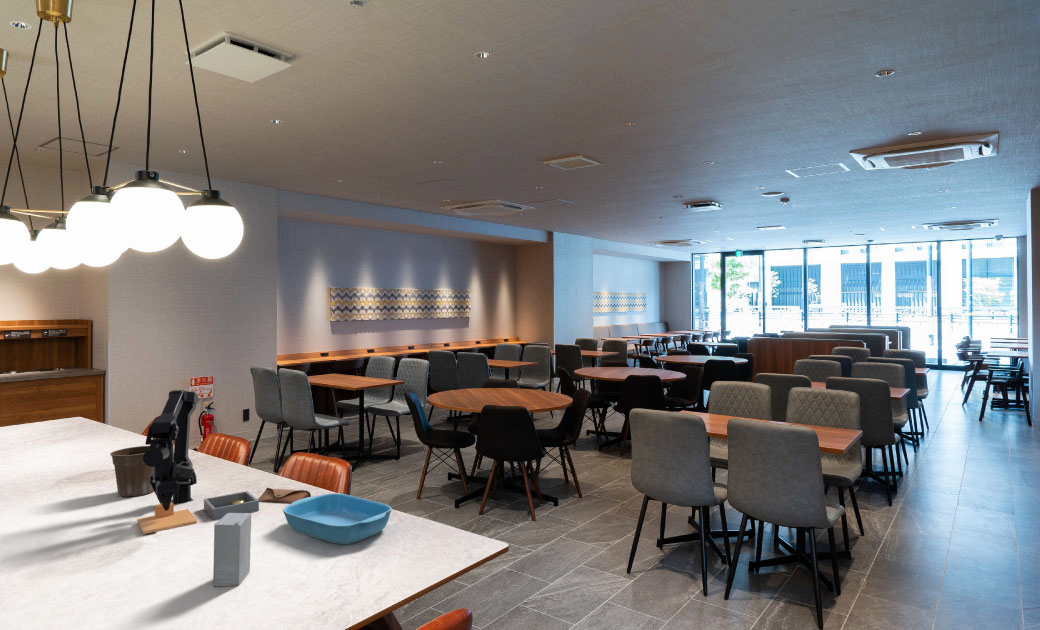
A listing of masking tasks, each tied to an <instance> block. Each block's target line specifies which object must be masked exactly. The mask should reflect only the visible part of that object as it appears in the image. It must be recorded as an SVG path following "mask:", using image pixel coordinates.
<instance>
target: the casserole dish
mask: <svg viewBox="0 0 1040 630" xmlns="http://www.w3.org/2000/svg"><path fill="white" fill-rule="evenodd" d="M392 509H393V508H392V507H391V506H390V505H389V504H386V503H382V502H378V501H374V500H371V499H366V498H362V497H359V496H354V495H350V494H346V493H337V492H336V493H335V492H333V493H324V494H320V495H315V496H311V497H308V498H304V499H300V500H297V501H295V502H293V503H292V504H288V505H287V506H284V507H283V509H282V512H283V514H284V516H285V519H286V522H287V524H288V526H289V527H290V528H291V529H292V530H293V531H295V532H298V533H300V534H302V533H303V535H305V534H306V535H305V536H308V535H309V537H311V536H312V538H316V539H318V540H321V539H322V540H321V541H324V540H325V542H329V543H331V544H332V543H333V544H337V545H350V544H354V543H357V542H360V541H363V540H366V539H367V538H369V537H373V536H375V535H377V534H379V533H380V532H382V531H383V530H384V529H385V528H386V527H387V525H388V522H389V519H390V516H391V512H392Z"/></svg>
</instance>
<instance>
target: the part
mask: <svg viewBox="0 0 1040 630" xmlns="http://www.w3.org/2000/svg"><path fill="white" fill-rule="evenodd" d="M240 503H245V500H243V499H238V500H234V501H232V505H235V504H240Z"/></svg>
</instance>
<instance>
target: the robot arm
mask: <svg viewBox="0 0 1040 630" xmlns="http://www.w3.org/2000/svg"><path fill="white" fill-rule="evenodd" d="M198 402H199V394H198V393H196V392H195V391H194V390H193V391H192V390H191V391H187V390H184V389H179V390H178V389H175V390H170V391H169V393H168V398H167V401H166V403H165V405H164V407H163V409H162V412H161V413H160V415H158V416H156V417H155V418H154V419H153V421H152V422H151V424H150V425H149V427H148V431H147V434H146V439H145V446H150V449H149V450H147V451H146V452H145V453H144V455H143V462H144V463H145V464H146V465H147V466H150V467H154V472H151V473H150V474H149V481H150V484H151V486H152V488H153V490H154V495H155V496H156V498H157V501H158V503H159V504H162V506H163V508H164V510H165V511H167V510H169V507H170V503H171V502H172V503H173V504H174V505H178V504H183V503H188V502H189V503H190V502H193V501H194V499H193V498H192V497H191V496H192V491H191V488H192V486H194V485H196V484H197V483H198V481H197V480H198V479H197V474H196V472H195V468H193V467H194V466H193V465H194V463H193V462H192V460H191V459H190V457H189V446H190V433H191V432H190V430H191V429H190V428H191V416H193V415H192V414H193V413H194V412H196V409H197V404H198ZM152 480H153V482H152Z"/></svg>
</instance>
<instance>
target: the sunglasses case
mask: <svg viewBox="0 0 1040 630" xmlns="http://www.w3.org/2000/svg"><path fill="white" fill-rule="evenodd" d="M308 497H312V495H311V492H310V491H309V490H305V489H298V490H295V489H282V488H281V489H280V488H271V487H266V489H265V490H264V491H263V493H262V494H261V496H260V497H259V498H257V499H258V500H259V503H270V504H271V503H274V504H275V503H276V504H288V505H290V504H292V503H293V502H295V501H297V500H300V499H304V498H308Z"/></svg>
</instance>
